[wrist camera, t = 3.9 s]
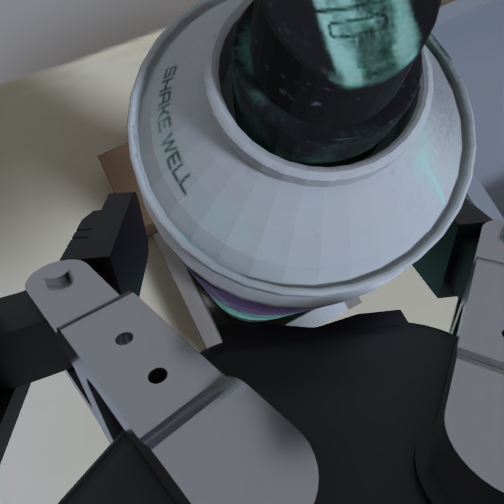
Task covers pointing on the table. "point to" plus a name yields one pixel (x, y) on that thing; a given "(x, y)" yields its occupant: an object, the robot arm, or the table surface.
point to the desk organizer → (126, 181)
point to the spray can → (300, 147)
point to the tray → (480, 89)
